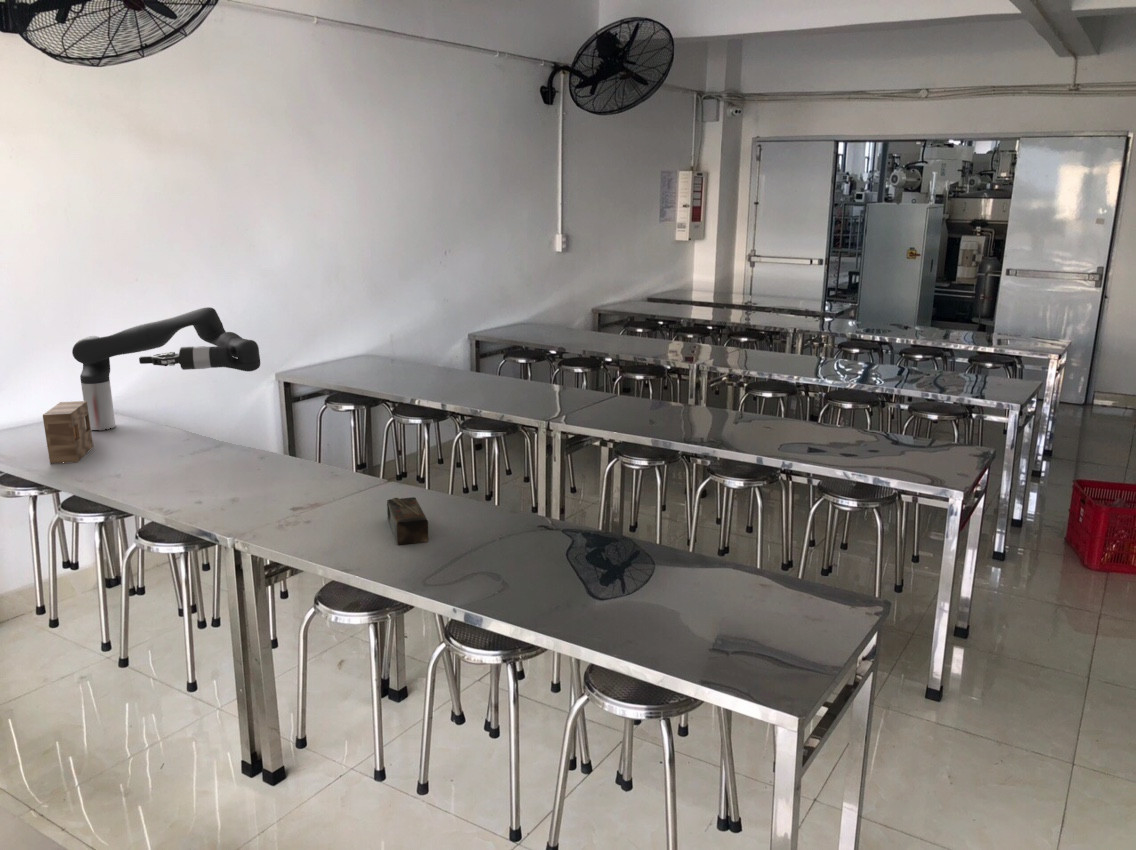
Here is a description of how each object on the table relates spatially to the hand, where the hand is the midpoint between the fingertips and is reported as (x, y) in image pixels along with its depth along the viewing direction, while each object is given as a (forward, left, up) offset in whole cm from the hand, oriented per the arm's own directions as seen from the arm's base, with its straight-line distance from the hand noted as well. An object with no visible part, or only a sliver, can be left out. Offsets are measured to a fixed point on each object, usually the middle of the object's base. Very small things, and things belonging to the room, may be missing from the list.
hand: (139, 360), depth 293 cm
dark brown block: (+96, +80, -30) cm, 128 cm away
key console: (+4, -23, -30) cm, 38 cm away
